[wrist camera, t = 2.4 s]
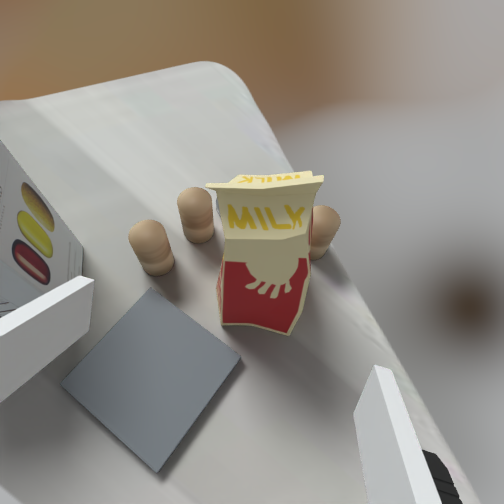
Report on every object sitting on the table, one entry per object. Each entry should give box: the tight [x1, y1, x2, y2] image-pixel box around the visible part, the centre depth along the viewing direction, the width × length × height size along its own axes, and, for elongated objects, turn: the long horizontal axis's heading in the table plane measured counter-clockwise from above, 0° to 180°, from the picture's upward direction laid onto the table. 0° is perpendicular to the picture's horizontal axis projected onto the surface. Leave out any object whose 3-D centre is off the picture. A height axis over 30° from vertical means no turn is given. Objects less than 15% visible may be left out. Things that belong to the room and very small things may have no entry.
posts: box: [128, 187, 340, 276], centre depth 39 cm, size 22×8×6 cm, turn 98°
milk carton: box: [205, 171, 324, 336], centre depth 30 cm, size 9×9×20 cm
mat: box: [60, 287, 241, 473], centre depth 34 cm, size 12×12×1 cm
